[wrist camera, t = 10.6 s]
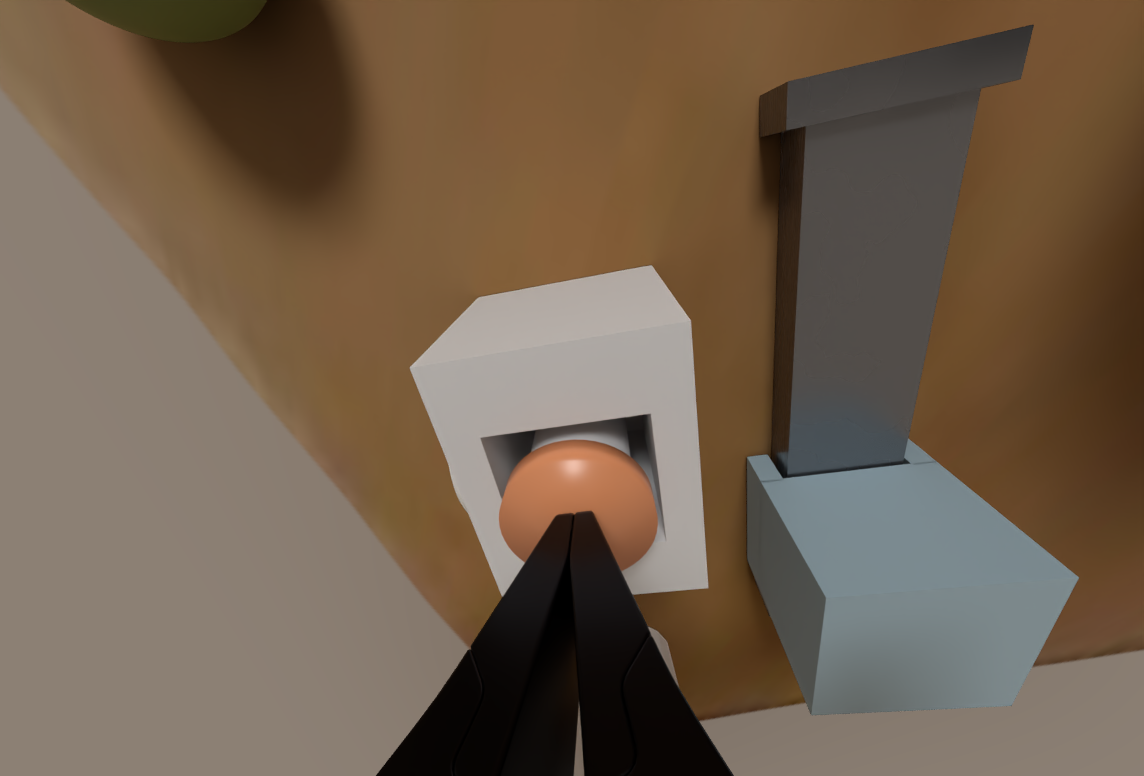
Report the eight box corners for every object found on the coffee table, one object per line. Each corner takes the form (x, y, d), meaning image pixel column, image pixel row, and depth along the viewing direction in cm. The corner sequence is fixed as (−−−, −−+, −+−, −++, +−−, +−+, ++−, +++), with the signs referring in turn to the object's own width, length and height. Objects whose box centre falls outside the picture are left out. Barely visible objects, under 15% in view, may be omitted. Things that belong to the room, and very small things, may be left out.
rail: (966, 48, 11) (1034, 24, 9) (868, 571, 19) (893, 606, 18) (759, 95, 11) (787, 81, 10) (754, 581, 20) (769, 616, 18)
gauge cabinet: (651, 265, 13) (690, 320, 8) (671, 459, 17) (708, 587, 12) (467, 299, 14) (392, 370, 9) (522, 478, 18) (493, 606, 12)
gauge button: (626, 345, 13) (648, 450, 8) (639, 435, 15) (664, 571, 10) (521, 362, 14) (479, 473, 9) (544, 448, 16) (520, 585, 10)
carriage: (906, 437, 16) (1078, 577, 10) (884, 546, 18) (1011, 705, 13) (746, 456, 17) (826, 598, 11) (747, 559, 19) (811, 715, 14)
